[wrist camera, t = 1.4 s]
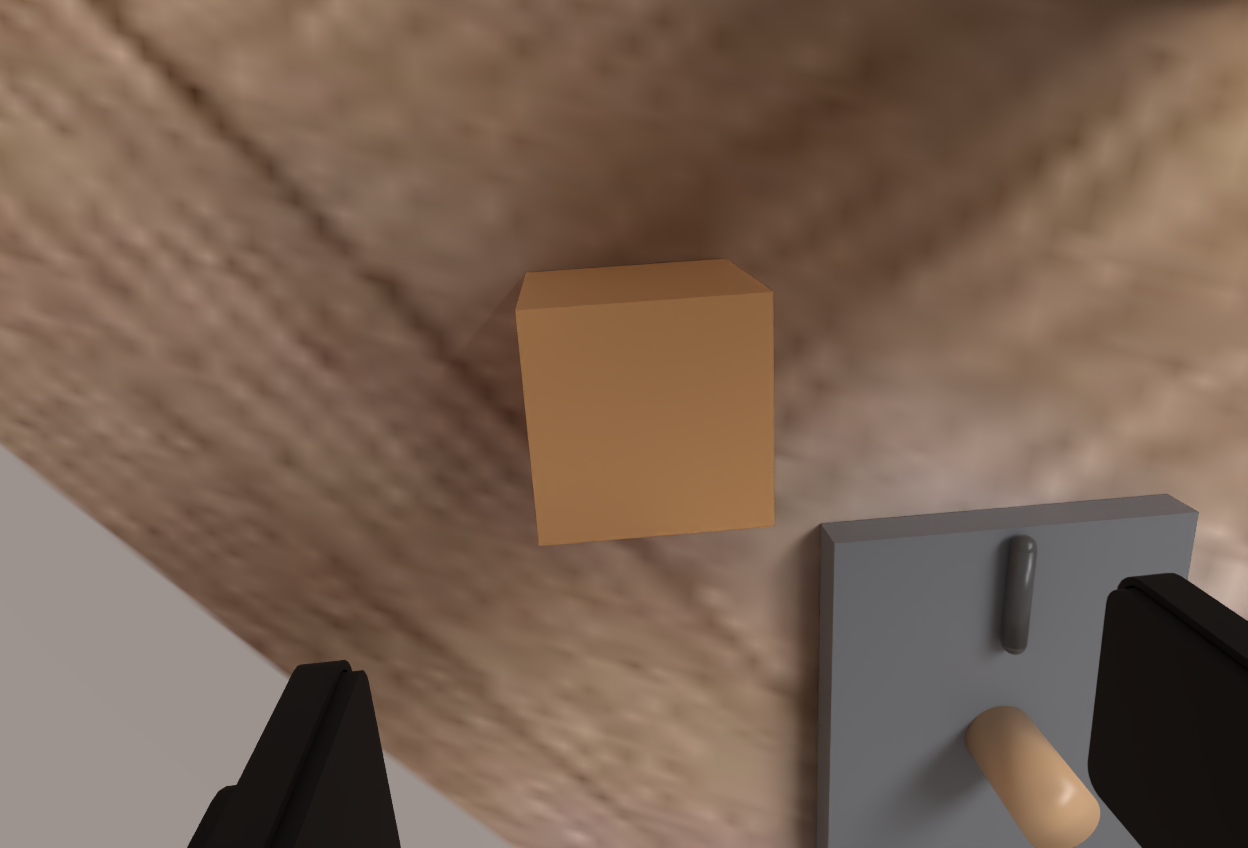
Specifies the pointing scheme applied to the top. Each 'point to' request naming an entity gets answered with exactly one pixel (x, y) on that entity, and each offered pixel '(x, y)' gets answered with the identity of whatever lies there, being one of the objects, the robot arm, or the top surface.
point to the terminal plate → (975, 670)
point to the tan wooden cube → (648, 399)
